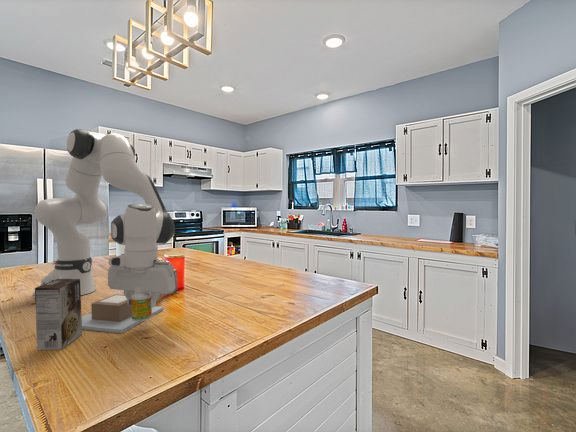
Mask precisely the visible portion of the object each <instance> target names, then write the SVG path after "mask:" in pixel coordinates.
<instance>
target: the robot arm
mask: <svg viewBox="0 0 576 432" xmlns="http://www.w3.org/2000/svg"><path fill="white" fill-rule="evenodd" d="M66 150H67V152H68V153H69V155H70V156H71V157H72V158H71V160H70V164H69V168H68V170H67V174H66V178H65V185H66V187H67V188H68V190H70V191H71V192H73V193H74V194H75V196H74V197H73V198H69V197H67V198H66V197H63V198H61V197H60V198H59V197H58V198H57V197H54V198H47V199H42V200H40V201H39V202H38V203H37V205H36V206H35V208H34V217H35V218H36V220H37V221H38V222H39V223H40V224H41V225H42V226H44V227H46V228H47V229H49V231H50V233H52V235H53V236H54V238H55V243H56V248H57V250H56V251H57V260H54V261H53V262H52V265H54V267H53V268H54V269H53V270H51V271H50V272H49V273H48V274H46V275H45V276H44V277H42V278H41V281H40V285H39V286H41V285H43V284H46V283H49V282H51V281H54V280H56V279H80V291H81V296H83V295H88V294H91V293H93V292H95V291H96V290H97V289H96V285H95V282H94V276H93V269H92V266H93V263H92V262H93V259H92V257H91V241H90V239H89V237H87V236H86V235H85V234H83V233H80V232H79V231H78V229H77V226H80V225H82V226H83V225H92V224H97V223H100V222H102V221H104V220H105V218H106V216H107V206H106V205H105V203H104V202H103V200H101V199H100V197H99V193H98V192H99V186H100V182H101V179H102V178H103V179H104V180H105V181H106V182H107V183H108V184H109V185H111V186H112V187H114V188H117V189H118V190H119V189H121V190H124V191H128V192H130V193H133V194H135V195H137V196H140V197H141V199H142V200H143V201H144V202H145V203H130V204H128V205H127V206H126V207H125V212H124V213H122V214H120V215H117V216H115V218H113V220H112V221H111V222H110V223H111V225H110V228H111V230H110V231H111V232H110V233H111V234H110V235H111V236H110V237H111V240H113V241H114V242H115V243H117V244H118V245H123V246H125V247H124V253H122V254H120V255H117V256H114V257H110V258H109V259H108V265H109V267H108V271H107V286H108V288H109V289H110V290H114V291H115V290H117V291H118V290H119V291H123V295H125V297H126V298H127V302H128V305H132V300H131V299H132V293H131V292H133V291H135V288H140V291H141V292H149V293H151V296H153V297H152V299H151V300H150V301H148V307H155V306H157V302H156V300H157V298H158V296H159V295H160V294H168V293H170V292H172V291H173V290H174V289H175V278H174V269H175V268H174V267H175V266H174V265H173V263H171V262H170V261H168V260H160V259H158V255H159V253H158V251H159V250H158V245H161V244H163V245H164V244H166V243H168V242H169V241H171V239H172V238H173V237H174V235H175V233H176V226H175V222H174V219H173V217H172V216H171V215H170V214H169V212H168V210H167V209H166V207H165V204H164V202H163V200H162V198H161V196H160V193H159V192H158V189H157V187H156V185H155V183H154V182H153V180H152V178H151V177H150V176H149V175H148V174H147V173H145V172H144V171H143V170H142V169H141V167H139V165H138V164H137V161H136V158H135V156H136V149H135V147H134V144H133V143H131V142H130V141H128V139H127V138H126V137H125V136H123V135H121V134H118V133H107V134H106V133H101V132H95V131H90V130H89V131H88V130H87V129H83V128H82V129H81V128H79V129H78V128H75V129H74V130H72V131H70V133H69V134H68V136H67V139H66ZM32 296H35V291H33V292H32Z"/></svg>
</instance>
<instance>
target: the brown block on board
mask: <svg viewBox="0 0 576 432" xmlns="http://www.w3.org/2000/svg"><path fill="white" fill-rule="evenodd" d="M90 306H91V307H90V308H91V312H89V313H87V314H84V315H83V316H82V315H81V318H82V330H85V331H86V330H88V331H95V332H97V331H98V332H107V333H115V334H117V333H118V334H124V333H126V332H127V331H129V330H130V329H132V328H134V327H136V326H138V325H140V324H141V323H142V322H144V321H139V322H138V321H133V320H132V305H128V302H127V298H126V297H125V295H124V294H112V295H109V296H106V297H104V298H102V299H100V300H97V301H94V302H91V304H90ZM164 308H165V307H164V306H157V305H156V306H155V307H152V317H153V316H155V315H157V314H159V313H160V312H162V311H164Z"/></svg>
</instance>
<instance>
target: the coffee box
mask: <svg viewBox="0 0 576 432" xmlns="http://www.w3.org/2000/svg"><path fill="white" fill-rule="evenodd" d="M34 292H35V295H34V296H35V297H34V301H35V302H34V303H35V330H36V331H35V333H36V335H35V336H36V350H37V351H43V350H44V351H47V350H51V351H54V350H55V351H56V350H63V349H64V348H65V347H67V346H69V345H70V344H71V343H72V342H74V341H75V340H76V339H77V338H79V337H80V336H82V335H83V329H82V318H81V317H82V298H81V297H82V295H81V291H80V279H56V280H54V281H51V282H49V283H46V284H43V285H41V286H40V285H38V286H37V287H34Z"/></svg>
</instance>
